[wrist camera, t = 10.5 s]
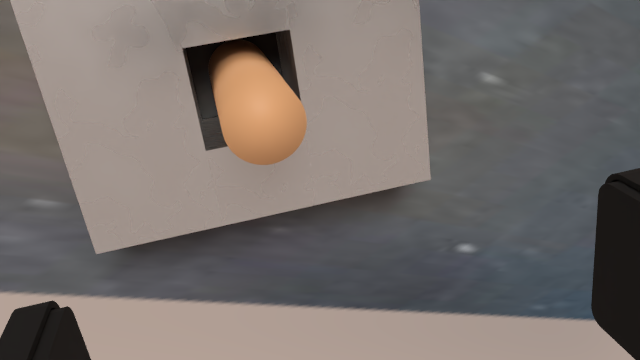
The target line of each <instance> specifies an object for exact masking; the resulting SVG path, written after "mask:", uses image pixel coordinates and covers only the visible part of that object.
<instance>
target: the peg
mask: <svg viewBox="0 0 640 360" xmlns="http://www.w3.org/2000/svg"><path fill="white" fill-rule="evenodd" d="M208 71H209V77H210V81H211V86H212V90H213V94H214V99H215V103H216V107H217V112H218V116H219V120H220V125H221V129H222V133H223V137H224V140H225V142H226V144H227V146H228V147H229V149H230V150H231V151H232V152H233V153H234V154H235V155H236V156H237V157H239V158H240V159H242V160H244V161H246V162H249V163H252V164H256V165H269V164H274V163H278V162H280V161H282V160H284V159H286V158H288V157H289V156H290V155H292V154H293V153H294V152H295V151H296V150H297V148H298V147H299V146H300V144H301V143H302V141H303V138H304V136H305V133H306V127H307V118H306V113H305V109H304V107H303V105H302V103H301V101H300V100H299V98H298V97H297V96H296V94H295V93H294V92H293V91H292V89H291V88H290V87H289V85H288V84H287V83H286V82H285V80H284V79H283V78H282V76H281V75H280V74H279V73H278V71H277V70H276V69H275V67H274V66H273V65H272V64H271V62H270V61H269V60H268V58H267V57H266V56H265V55H264V53H263V52H262V51H261V50H260V49H259V48H258V47H257V46H256V45H255V44H253V43H251V42H249V41H246V40H241V39H235V40H230V41H227V42H225V43H223V44H221V45H220V46H219V47H218V48H216V50H215V51H214V52H213V54H212V56H211V58H210V61H209V66H208Z"/></svg>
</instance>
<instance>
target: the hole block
mask: <svg viewBox="0 0 640 360" xmlns="http://www.w3.org/2000/svg"><path fill="white" fill-rule="evenodd" d="M10 1H11V4H12V7H13V10H14V13H15V16H16V19H17V22H18V25H19V28H20V31H21V34H22V37H23V40H24V43H25V46H26V49H27V52H28V55H29V57H30V60H31V63H32V66H33V69H34V72H35V75H36V78H37V81H38V84H39V87H40V90H41V93H42V96H43V99H44V102H45V105H46V108H47V111H48V113H49V116H50V119H51V122H52V125H53V128H54V131H55V134H56V137H57V140H58V143H59V146H60V149H61V152H62V155H63V158H64V161H65V164H66V167H67V169H68V172H69V175H70V178H71V181H72V184H73V187H74V190H75V193H76V196H77V199H78V202H79V205H80V208H81V211H82V214H83V217H84V220H85V223H86V225H87V228H88V231H89V234H90V237H91V240H92V243H93V246H94V249H95V252H96V254H99V253H103V252H108V251H112V250H117V249H121V248H126V247H130V246H135V245H139V244H144V243H148V242H153V241H157V240H162V239H166V238H171V237H175V236H180V235H184V234H189V233H193V232H198V231H202V230H207V229H211V228H216V227H220V226H224V225H229V224H233V223H238V222H242V221H247V220H251V219H256V218H260V217H265V216H269V215H274V214H278V213H283V212H287V211H292V210H296V209H301V208H305V207H310V206H314V205H319V204H323V203H328V202H332V201H337V200H341V199H346V198H350V197H354V196H359V195H363V194H368V193H372V192H377V191H381V190H386V189H390V188H395V187H399V186H404V185H408V184H413V183H417V182H422V181H426V180H431V177H430V162H429V146H428V131H427V116H426V100H425V85H424V70H423V55H422V39H421V24H420V9H419V0H10ZM272 32H275V33H276V39H277V45H278V51H279V57H280V63H281V69H282V75H283V79H284V80H285V82H286V83H287V84H288V85H289V87H290V88H291V89H292V91H293V92H294V93H295V94H296V96H297V97H298V98H299V100H300V101H301V103H302V105H303V107H304V109H305V113H306V118H307V127H306V133H305V136H304V138H303V141H302V143H301V144H300V146H299V147H298V148H297V150H296V151H295V152H294V153H293V154H292V155H290V156H289V157H288V158H286V159H284V160H282V161H280V162H278V163H274V164H269V165H256V164H252V163H249V162H246V161H244V160H242V159H240V158H239V157H237V156H236V155H235V154H234V153H233V152H232V151H231V150H230V149H229V147H228V146H227V144H226V142H225V140H224V137H223V133H222V129H221V125H220V120H219V116H218V117H213V118H208V119H203V120H202V118H201V113H200V109H199V104H198V100H197V96H196V91H195V87H194V83H193V78H192V74H191V69H190V65H189V61H188V56H187V52H186V48H187V47H193V46H199V45H204V44H210V43H216V42H221V41H227V40H233V39H238V38H244V37H250V36H255V35H261V34H267V33H272Z"/></svg>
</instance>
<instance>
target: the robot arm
mask: <svg viewBox="0 0 640 360" xmlns="http://www.w3.org/2000/svg"><path fill="white" fill-rule="evenodd" d="M591 306H592V313H593V316H594V318H595V320H596V322H597V323H598V324H599V326H600V327H601V328H602V329H603V330H604V331H606V332H607V333H608V334H609V335H610V336H611V337H612V338H613V339H614V340H615V341H616V342H617V343H618V344H619V345H621V346H622V347H623V348H624V349H625V350H626V351H627V352H628V353H629V354H630V355H631V356H632V357H633V358H634V359H636V360H640V168H638V169H634V170H629V171H625V172H620V173H616V174H612V175H610V176H609V177H608V178H607V180H606V182H605V184H604V185H602V186H601V188H600V189H599V194H598V209H597V225H596V241H595V257H594V273H593V288H592V304H591ZM0 360H91V359H90V356H89V353H88V351H87V348H86V345H85V342H84V340H83V337H82V334H81V332H80V329H79V327H78V324H77V321H76V319H75V316H74V313H73V311H72V310H71V309H70V308H69V307H64V308H60V307H59V305H58V304H57V303H56V302H54V301H49V302H45V303H40V304H36V305H32V306H27V307H23V308H18V309H15V310H14V312H13V313H12V315H11V317H10V319H9V321H8V323H7V325H6V327H5V329H4V332H3V334H2V336H1V338H0Z"/></svg>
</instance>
